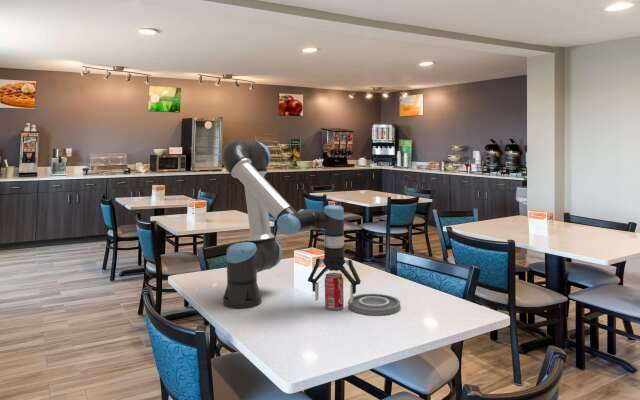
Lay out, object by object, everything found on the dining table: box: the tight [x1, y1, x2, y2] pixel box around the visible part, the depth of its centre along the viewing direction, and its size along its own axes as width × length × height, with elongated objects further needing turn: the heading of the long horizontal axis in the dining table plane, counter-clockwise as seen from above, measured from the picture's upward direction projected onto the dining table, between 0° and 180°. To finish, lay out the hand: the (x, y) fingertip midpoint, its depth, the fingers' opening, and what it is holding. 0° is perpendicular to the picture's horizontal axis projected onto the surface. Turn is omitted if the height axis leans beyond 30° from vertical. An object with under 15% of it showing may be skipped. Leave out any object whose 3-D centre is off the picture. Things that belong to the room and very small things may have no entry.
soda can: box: [324, 272, 344, 311], centre depth 181 cm, size 7×7×13 cm
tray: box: [347, 293, 401, 317], centre depth 182 cm, size 20×20×2 cm
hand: (334, 300), depth 181 cm, fingers open, 13 cm apart
